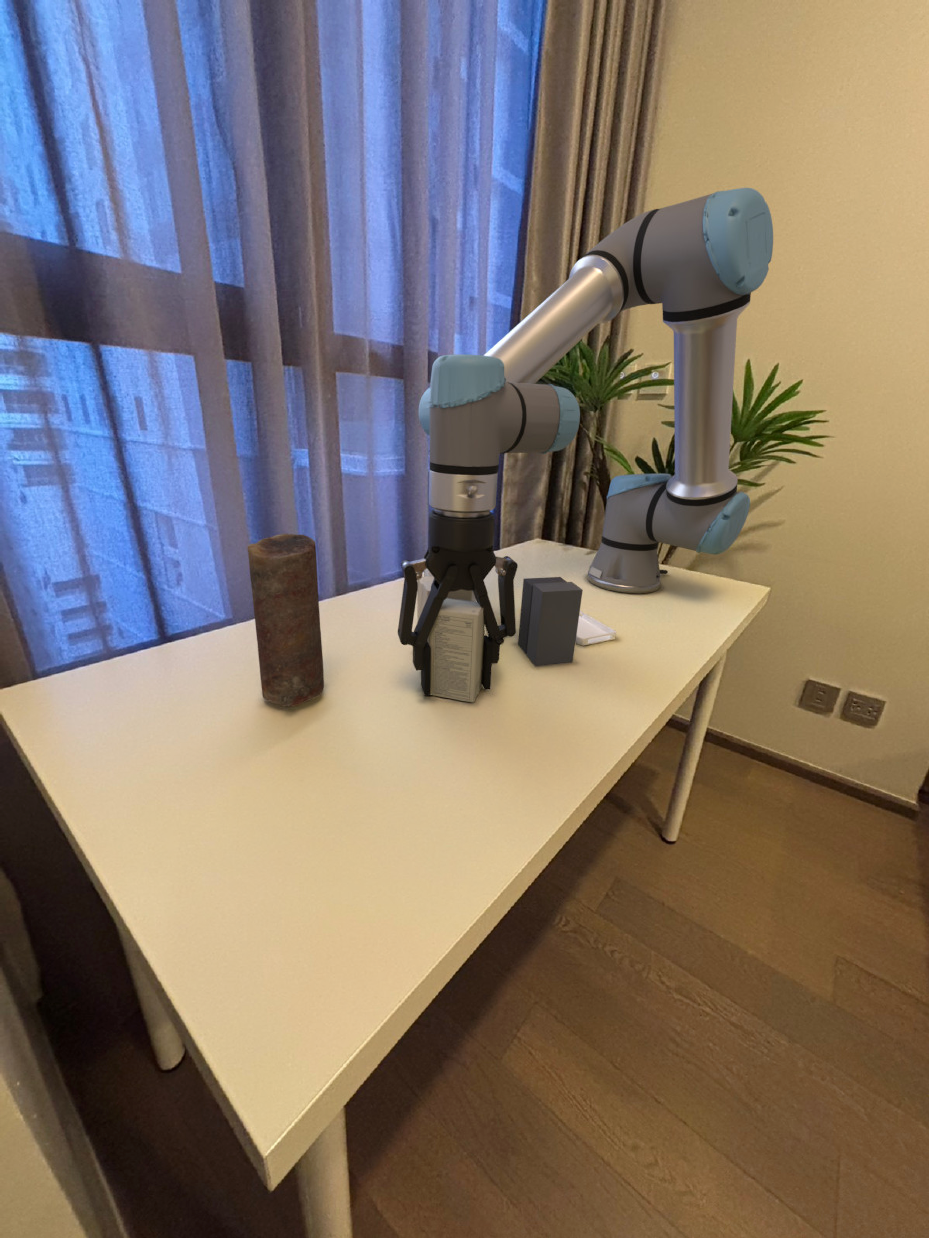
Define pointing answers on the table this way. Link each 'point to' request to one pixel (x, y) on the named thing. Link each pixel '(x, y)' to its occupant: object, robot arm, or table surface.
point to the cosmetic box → (457, 650)
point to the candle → (287, 618)
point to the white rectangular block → (425, 589)
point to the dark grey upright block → (549, 620)
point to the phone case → (592, 631)
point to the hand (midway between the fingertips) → (455, 686)
